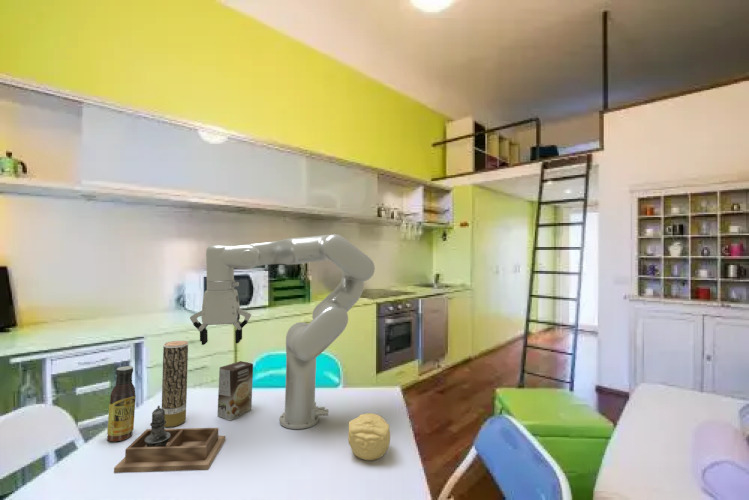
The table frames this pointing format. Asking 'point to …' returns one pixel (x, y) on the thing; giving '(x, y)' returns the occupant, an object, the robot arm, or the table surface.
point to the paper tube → (174, 382)
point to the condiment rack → (173, 451)
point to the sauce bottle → (122, 406)
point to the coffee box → (235, 389)
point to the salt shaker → (158, 430)
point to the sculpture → (369, 436)
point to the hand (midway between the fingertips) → (221, 342)
